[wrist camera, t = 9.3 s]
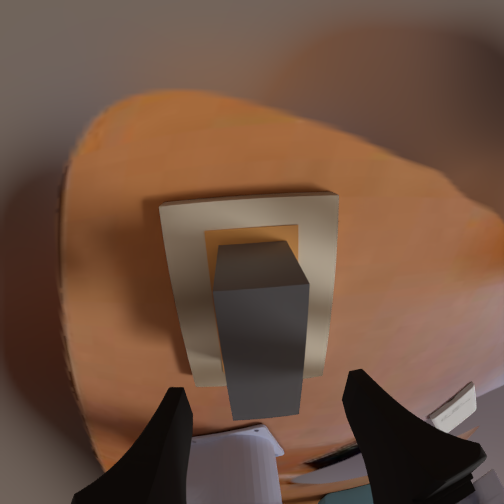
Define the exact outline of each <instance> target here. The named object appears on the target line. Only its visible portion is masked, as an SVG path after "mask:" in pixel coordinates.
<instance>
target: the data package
mask: <svg viewBox="0 0 504 504" xmlns="http://www.w3.org/2000/svg"><path fill="white" fill-rule="evenodd" d="M318 504H373V498H372V492H371V487H370V484H368V485H364V486H360V487H356V488H352V489H348V490H343V491H338V492H333V493H329V494H327V495H326V496H325V497H323V498H322V499H321V500H320V501H319V502H318Z"/></svg>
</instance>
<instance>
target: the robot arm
mask: <svg viewBox="0 0 504 504" xmlns="http://www.w3.org/2000/svg"><path fill="white" fill-rule="evenodd" d="M342 401H343V405H344V409H345V413H346V416H347V419H348V422H349V424H350V427H351V429H352V432H353V434H354V436H355V439H356V441H357V444H358V446H359V448H360V451H361V453H362V456H363V459H364V462H365V466H366V469H367V474H368V478H369V482H370V487H371V492H372V498H373V504H504V488H503V485H502V483H501V481H500V480H499V478H498V476H497V474H496V472H495V470H494V469H491V470H490V471H489V472H488V473H486V474H485V475H484V476H482V477H481V478H480V479H478V480H477V481H475V482H474V483H473V484H472V482H471V479H473V476H472V474H471V473H472V472H473V471H474V470H475V469H476V468H477V467H478V466H479V465H480V464H481V463H483V461H485V459H486V457H487V455H486V454H485V452H484V450H483V449H482V447H481V445H480V444H479V443H476V442H472V441H468V440H464V439H461V438H458V437H456V436H453V435H450V434H448V433H446V432H444V431H441V430H439V429H437V428H435V427H433V426H431V425H430V424H428V423H426V422H424V421H423V420H421V419H420V418H418V417H417V416H415V415H414V414H412V413H411V412H409V411H408V410H407V409H406V408H404V407H403V406H402V405H400V404H399V403H398V402H397V401H396V400H395V399H393V398H392V397H391V396H390V395H389V394H388V393H387V392H385V391H384V390H383V389H382V388H381V387H380V386H379V385H378V384H377V383H376V382H375V381H374V380H373V379H372V378H371V377H370V376H369V375H368V374H367V373H366V372H365V371H364V370H362V369H358V370H353V371H349V374H348V378H347V382H346V386H345V390H344V394H343V397H342ZM192 430H193V413H192V411H191V408H190V405H189V402H188V399H187V396H186V393H185V390H184V387H170V388H169V389H168V390H167V392H166V394H165V396H164V398H163V400H162V402H161V403H160V405H159V407H158V409H157V410H156V412H155V414H154V415H153V417H152V418H151V420H150V422H149V423H148V425H147V426H146V428H145V429H144V430H143V432H142V433H141V435H140V436H139V437H138V439H137V440H136V441H135V443H134V444H133V445H132V446H131V448H130V449H129V450H128V451H127V452H126V453H125V454H124V456H123V457H122V458H121V459H120V460H119V461H118V462H117V463H116V464H115V465H114V466H113V467H111V468H110V469H109V470H108V471H107V472H106V473H104V474H103V475H102V476H101V477H99V479H97V480H96V481H94V482H93V483H91V484H90V485H88V486H87V487H85V488H84V489H82V490H81V491H79V492H77V493H75V494H74V497H73V499H72V502H71V504H282V499H281V492H280V485H279V478H278V472H277V465H276V458H275V457H277V456H281V455H284V450H283V449H282V448H281V446H280V445H279V444H278V442H277V441H276V439H275V438H274V437H273V435H272V434H271V433H270V431H269V430H268V428H267V427H266V426H265V425H263V424H260V425H256V426H251V427H247V428H242V429H237V430H232V431H227V432H222V433H216V434H210V435H203V436H196V437H192Z"/></svg>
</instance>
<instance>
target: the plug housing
mask: <svg viewBox="0 0 504 504" xmlns="http://www.w3.org/2000/svg"><path fill="white" fill-rule="evenodd" d="M309 289H310V283H309V281H308V280H307V278H306V276H305V274H304V272H303V270H302V268H301V266H300V265H299V263H298V261H297V259H296V257H295V255H294V254H293V252H292V250H291V248H290V246H289V244H288V243H287V241H274V242H260V243H245V244H231V245H218V253H217V261H216V268H215V276H214V285H213V298H214V305H215V312H216V319H217V326H218V333H219V340H220V346H221V353H222V359H223V365H224V371H225V377H226V383H227V389H228V394H229V400H230V405H231V411H232V416H233V420H250V419H262V418H272V417H281V416H289V415H296V414H299V407H300V399H301V390H302V381H303V371H304V360H305V349H306V337H307V323H308V307H309Z"/></svg>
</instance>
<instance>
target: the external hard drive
mask: <svg viewBox="0 0 504 504" xmlns="http://www.w3.org/2000/svg"><path fill="white" fill-rule="evenodd" d="M475 410H476V396H475V385H474V383H473V382H471V383H470V384H468V385H467V386H466V387H465V388H464V389H463V390H462V391H460V392H459V393H458V394H457V395H456V396H455V397H454V398H453V399H451V400H450V401H449V402H447V403H446V404H445V405H443V406H442V407H441V408H439V409H438V410H437V411H435V412H434V413H433V414H431V415H430V416H429V417H430V419H431V421H432V422H433V424H434V426H435V428H437V429H439V430H441V431H444V432H446V433H448V432H449V431H451V430H452V429H453V428H454V427H456V426H457V425H458V424H460V423H461V422H462V421H464V420H465V419H466V418H467V417H468V416H470V414H472V413H473V412H474V411H475Z"/></svg>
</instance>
